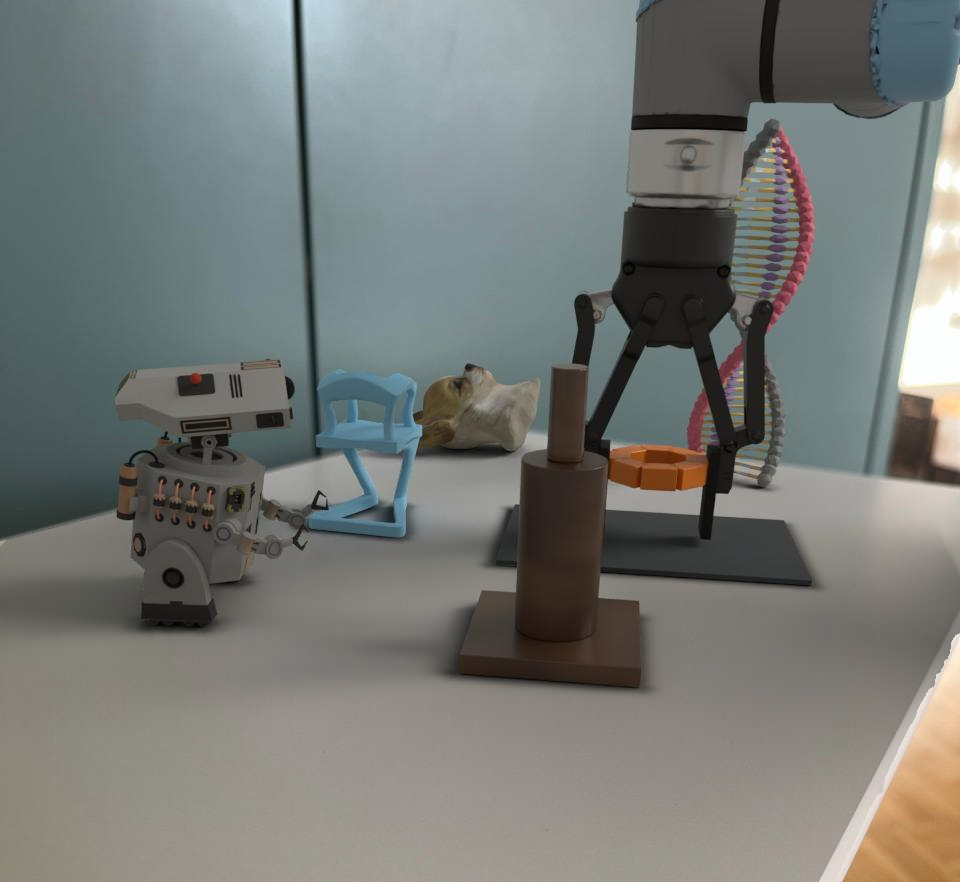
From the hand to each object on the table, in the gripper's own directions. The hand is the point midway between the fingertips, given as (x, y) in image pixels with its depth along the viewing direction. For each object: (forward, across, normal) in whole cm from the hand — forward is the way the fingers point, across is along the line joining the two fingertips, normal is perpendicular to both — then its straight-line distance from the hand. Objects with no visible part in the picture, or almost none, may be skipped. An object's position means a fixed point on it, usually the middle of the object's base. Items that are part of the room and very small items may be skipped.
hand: (651, 530), depth 79 cm
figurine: (+1, -27, -17) cm, 32 cm away
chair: (+1, -22, +2) cm, 22 cm away
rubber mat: (+1, 0, 0) cm, 1 cm away
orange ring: (-4, 0, 0) cm, 4 cm away
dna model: (+1, +8, +21) cm, 22 cm away
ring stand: (+1, -6, -20) cm, 21 cm away
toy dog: (+1, -18, +27) cm, 33 cm away
